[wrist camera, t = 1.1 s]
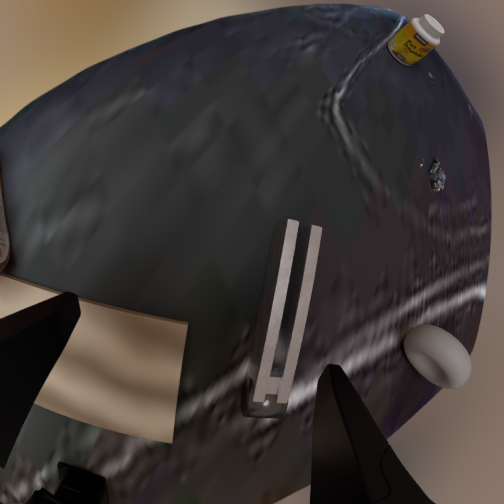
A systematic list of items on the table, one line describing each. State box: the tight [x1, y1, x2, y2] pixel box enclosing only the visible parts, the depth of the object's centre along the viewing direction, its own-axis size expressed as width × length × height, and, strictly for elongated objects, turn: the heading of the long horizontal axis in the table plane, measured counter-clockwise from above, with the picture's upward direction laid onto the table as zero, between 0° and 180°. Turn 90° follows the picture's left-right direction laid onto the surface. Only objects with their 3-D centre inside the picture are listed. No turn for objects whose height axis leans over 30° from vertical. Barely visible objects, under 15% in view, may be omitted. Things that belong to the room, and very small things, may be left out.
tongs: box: [241, 219, 322, 418], centre depth 25 cm, size 18×3×4 cm, turn 169°
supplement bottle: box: [388, 14, 444, 66], centre depth 29 cm, size 6×6×10 cm
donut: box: [404, 324, 472, 389], centre depth 26 cm, size 10×3×10 cm, turn 40°
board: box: [0, 272, 188, 443], centre depth 22 cm, size 13×22×2 cm, turn 79°
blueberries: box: [421, 157, 445, 194], centre depth 33 cm, size 7×8×2 cm
